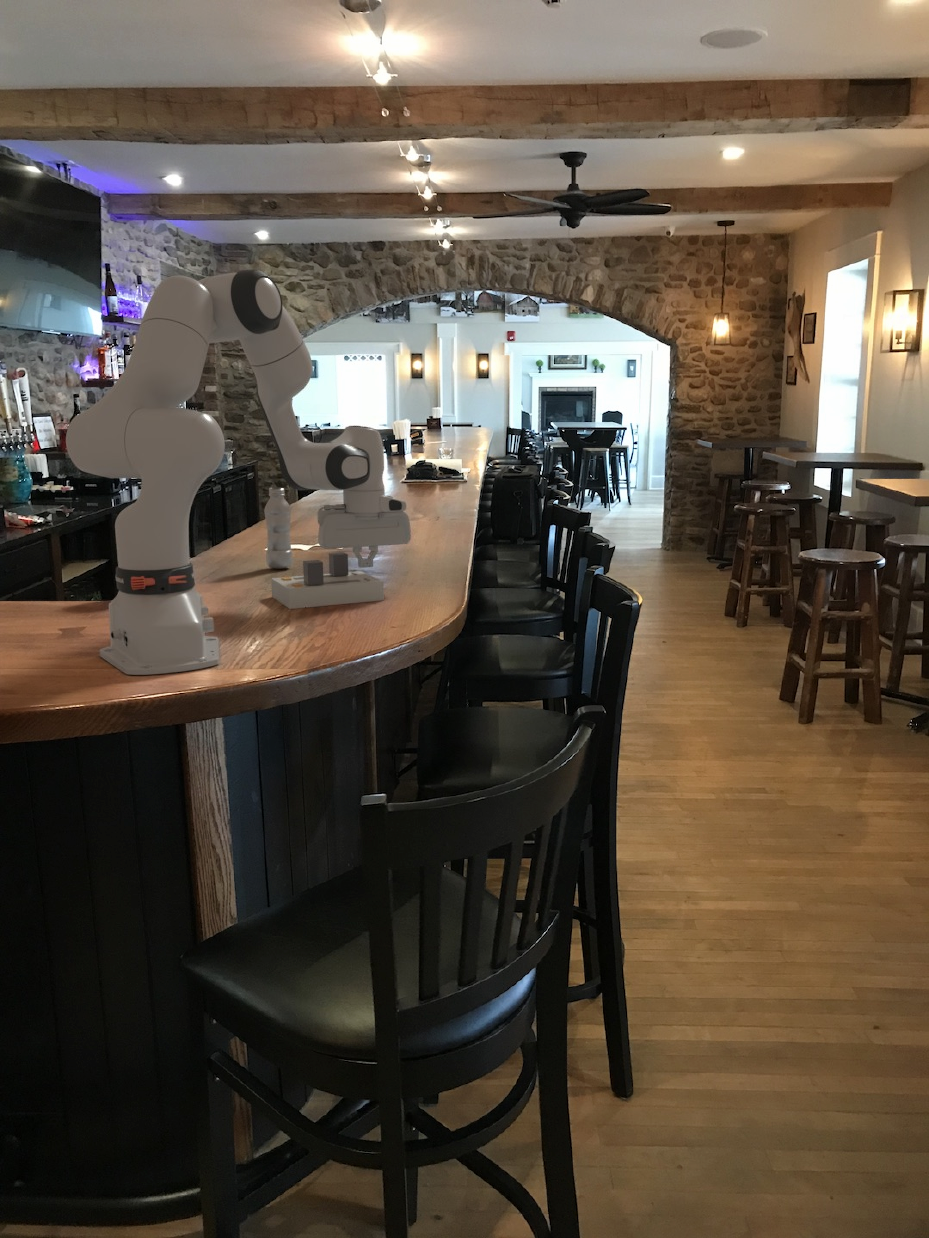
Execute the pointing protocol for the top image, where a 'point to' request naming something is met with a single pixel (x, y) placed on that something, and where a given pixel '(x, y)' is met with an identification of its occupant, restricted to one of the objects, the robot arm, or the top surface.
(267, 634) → the top surface
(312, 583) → the near tab
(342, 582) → the switch housing
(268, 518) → the plastic bottle
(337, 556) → the far tab
